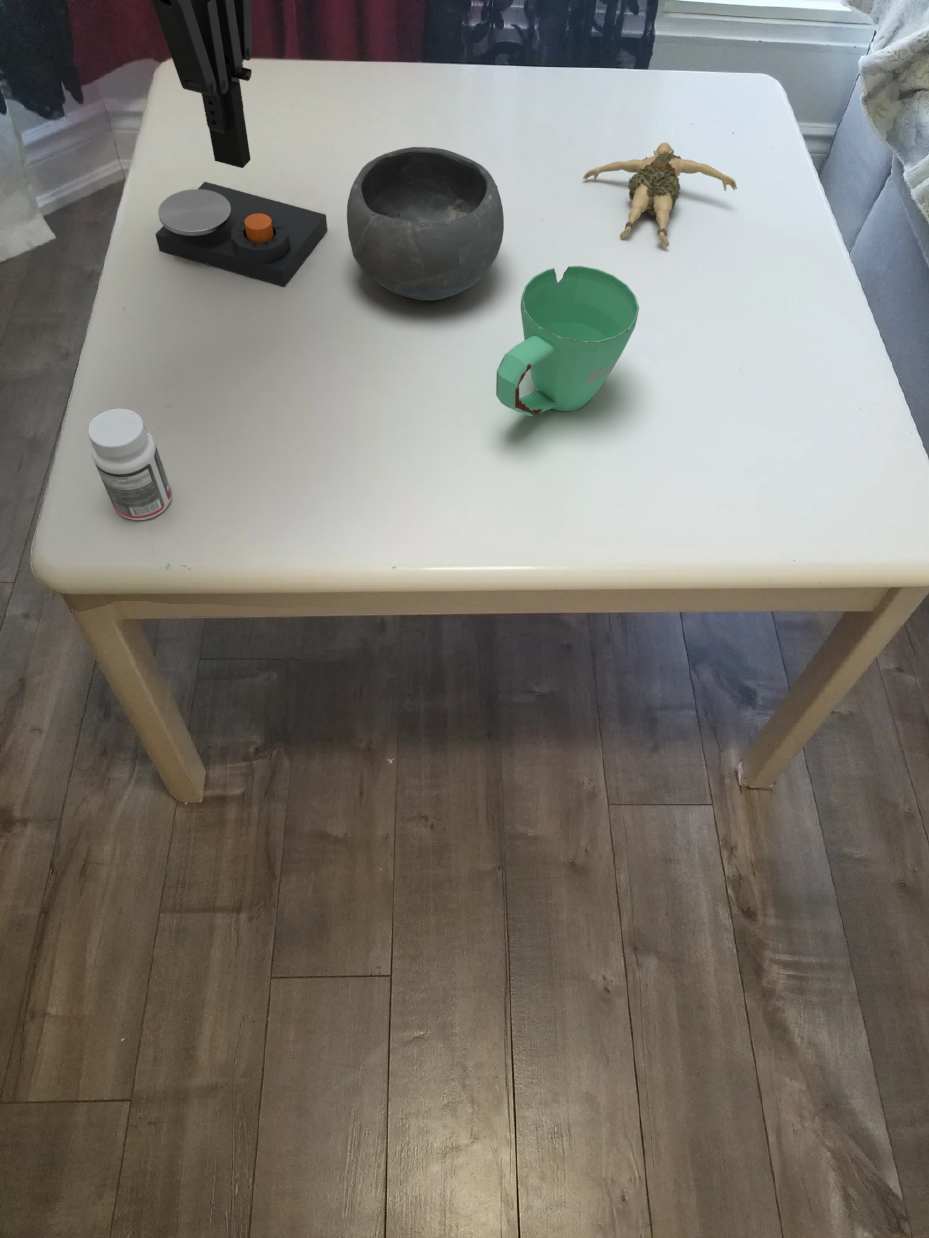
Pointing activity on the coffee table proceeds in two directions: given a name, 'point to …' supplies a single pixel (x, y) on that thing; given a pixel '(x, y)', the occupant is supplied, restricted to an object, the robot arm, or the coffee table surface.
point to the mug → (567, 339)
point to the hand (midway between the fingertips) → (232, 160)
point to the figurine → (657, 184)
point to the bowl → (425, 222)
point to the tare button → (259, 228)
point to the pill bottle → (129, 464)
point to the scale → (253, 259)
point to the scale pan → (195, 212)
